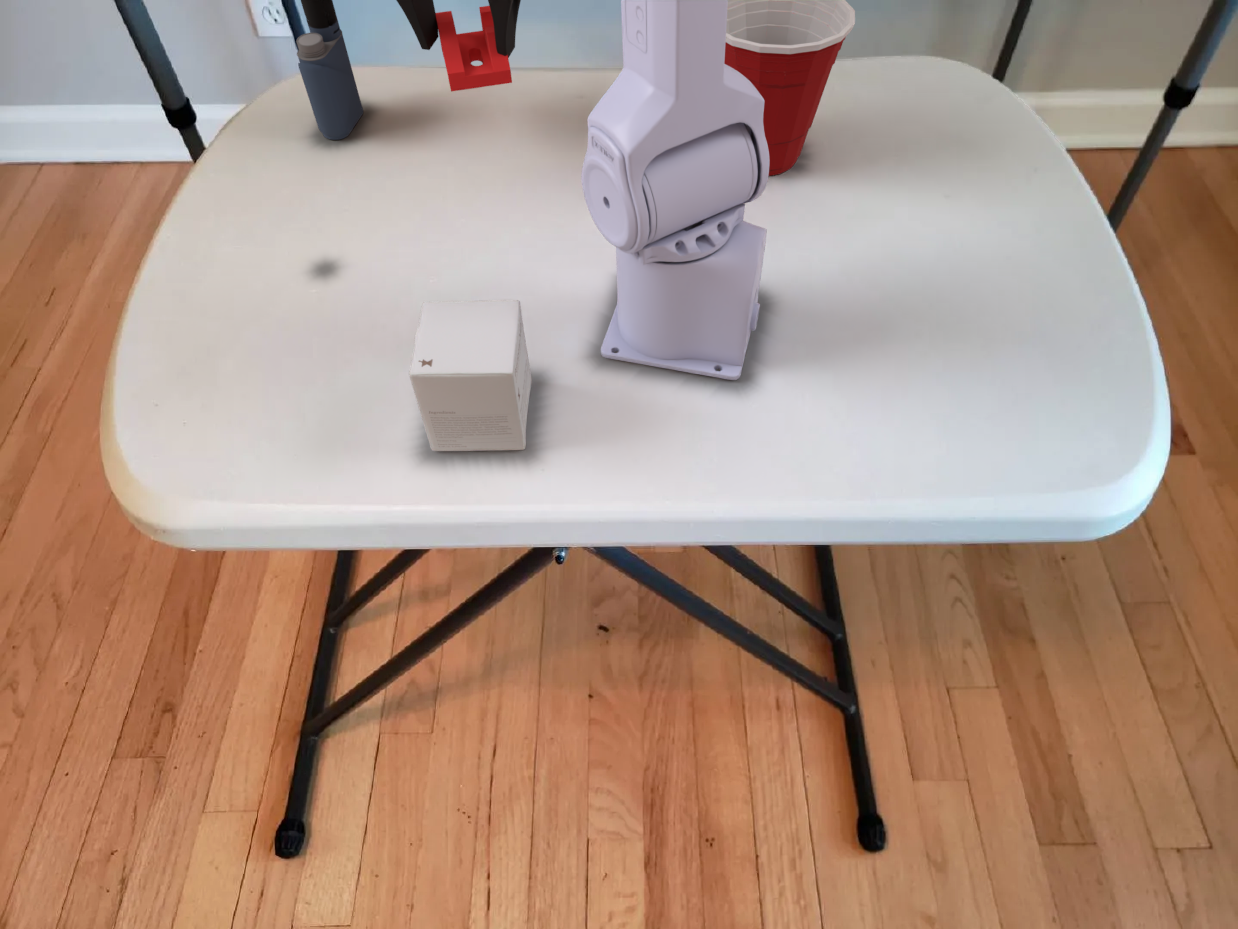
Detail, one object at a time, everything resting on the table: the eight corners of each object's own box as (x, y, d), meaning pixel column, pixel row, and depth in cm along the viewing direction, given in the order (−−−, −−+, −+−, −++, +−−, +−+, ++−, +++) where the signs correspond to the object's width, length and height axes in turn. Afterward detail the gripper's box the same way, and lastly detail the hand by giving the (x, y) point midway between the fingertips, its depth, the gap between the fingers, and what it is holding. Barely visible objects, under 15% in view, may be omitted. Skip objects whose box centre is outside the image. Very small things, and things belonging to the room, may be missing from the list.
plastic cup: (817, 112, 78) (842, -33, 68) (840, 192, 71) (871, 44, 62) (690, 117, 78) (696, -28, 68) (701, 197, 71) (710, 51, 62)
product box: (526, 453, 57) (513, 374, 51) (429, 454, 57) (405, 375, 51) (533, 379, 60) (521, 298, 55) (441, 380, 61) (420, 298, 55)
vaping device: (368, 108, 79) (331, -35, 70) (344, 143, 76) (301, 0, 67) (341, 104, 80) (300, -38, 70) (316, 139, 77) (269, -4, 67)
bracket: (441, 48, 75) (435, 12, 73) (499, 40, 76) (495, 4, 73) (451, 91, 71) (444, 54, 69) (512, 82, 72) (507, 45, 69)
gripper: (557, -162, 63) (570, 31, 73) (362, -177, 65) (403, 12, 76) (526, -119, 59) (544, 79, 69) (319, -137, 61) (368, 57, 72)
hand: (468, 47), depth 72 cm, fingers closed on bracket, 6 cm apart
